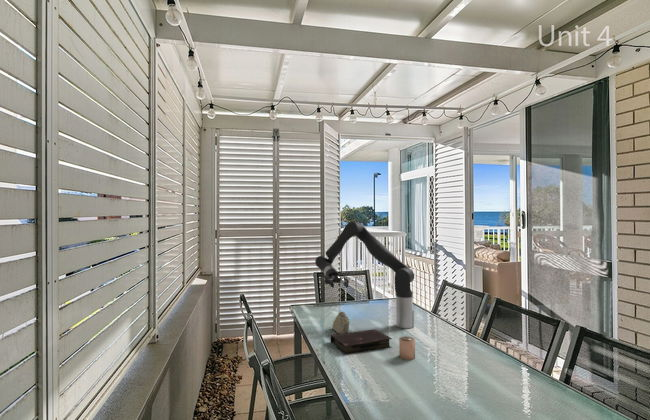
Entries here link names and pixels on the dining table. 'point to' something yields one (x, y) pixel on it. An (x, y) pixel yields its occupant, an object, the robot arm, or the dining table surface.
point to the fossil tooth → (341, 323)
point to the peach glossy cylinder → (407, 348)
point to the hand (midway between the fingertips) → (340, 286)
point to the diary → (360, 341)
